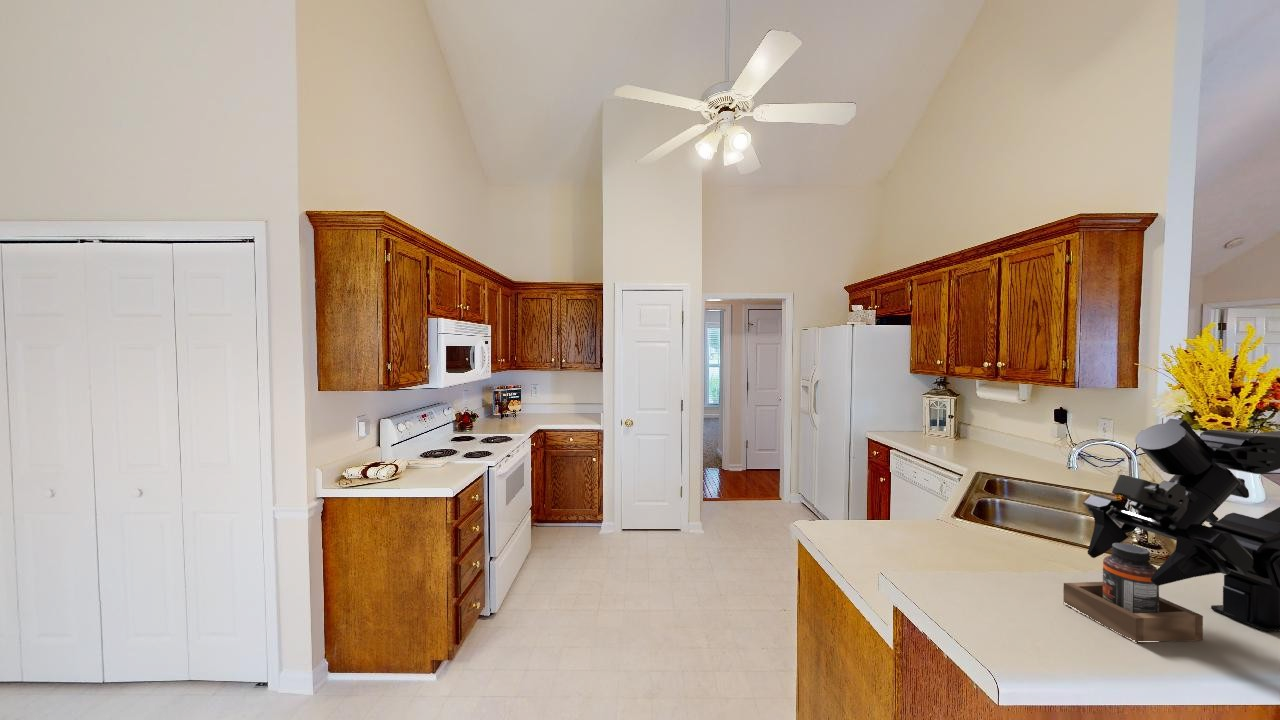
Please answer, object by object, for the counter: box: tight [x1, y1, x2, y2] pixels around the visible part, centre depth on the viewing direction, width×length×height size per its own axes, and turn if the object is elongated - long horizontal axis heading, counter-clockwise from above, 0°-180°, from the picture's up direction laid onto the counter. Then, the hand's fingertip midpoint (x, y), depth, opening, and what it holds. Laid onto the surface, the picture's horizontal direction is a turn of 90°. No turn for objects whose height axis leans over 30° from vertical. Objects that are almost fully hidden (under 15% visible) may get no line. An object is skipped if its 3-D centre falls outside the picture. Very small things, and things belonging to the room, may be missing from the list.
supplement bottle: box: [1102, 542, 1160, 613], centre depth 72 cm, size 6×6×11 cm
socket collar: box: [1063, 581, 1204, 642], centre depth 72 cm, size 10×10×4 cm
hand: (1120, 568), depth 72 cm, fingers open, 9 cm apart
